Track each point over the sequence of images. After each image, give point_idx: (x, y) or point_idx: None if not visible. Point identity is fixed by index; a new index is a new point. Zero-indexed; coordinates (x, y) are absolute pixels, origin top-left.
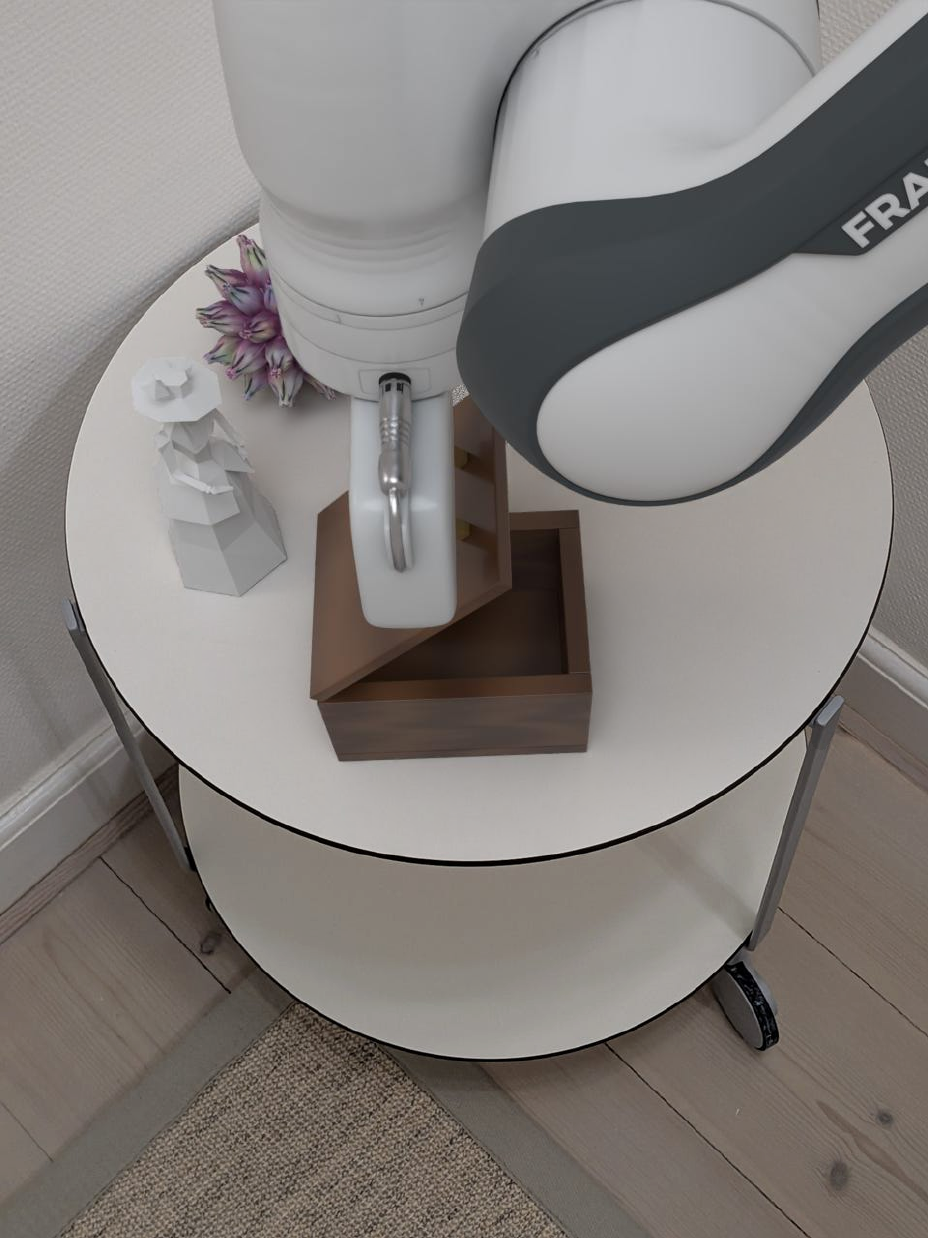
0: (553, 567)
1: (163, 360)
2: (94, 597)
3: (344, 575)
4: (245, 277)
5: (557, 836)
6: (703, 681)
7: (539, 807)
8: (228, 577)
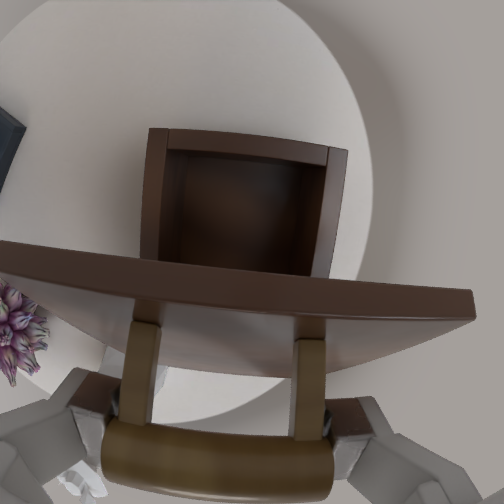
0: (181, 156)
1: (60, 483)
2: (168, 420)
3: (218, 369)
4: None
5: (366, 189)
6: (274, 70)
7: (346, 196)
8: (162, 373)
